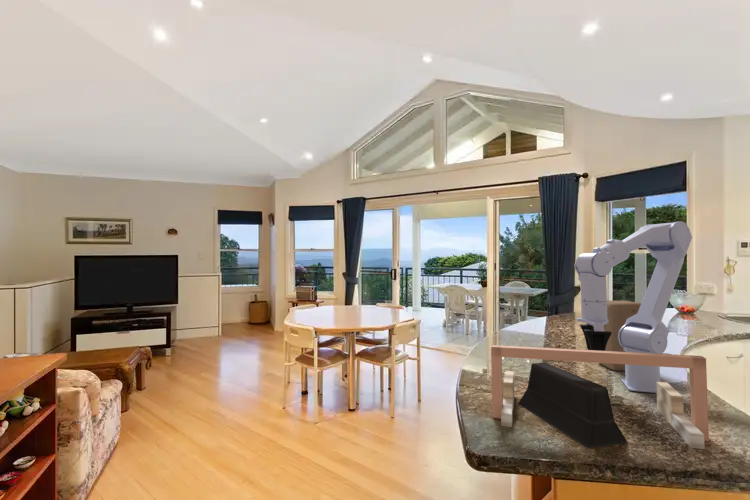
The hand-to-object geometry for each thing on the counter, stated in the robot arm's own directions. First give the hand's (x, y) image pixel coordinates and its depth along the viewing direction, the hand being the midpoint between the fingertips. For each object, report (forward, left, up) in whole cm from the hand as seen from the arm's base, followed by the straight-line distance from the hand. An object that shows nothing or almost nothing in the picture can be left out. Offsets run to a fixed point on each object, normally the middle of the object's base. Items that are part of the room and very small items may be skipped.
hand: (595, 356), depth 103 cm
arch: (+22, -4, -9) cm, 24 cm away
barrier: (+20, -8, -10) cm, 24 cm away
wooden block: (-31, +11, -10) cm, 34 cm away
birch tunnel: (+17, -4, -9) cm, 20 cm away
